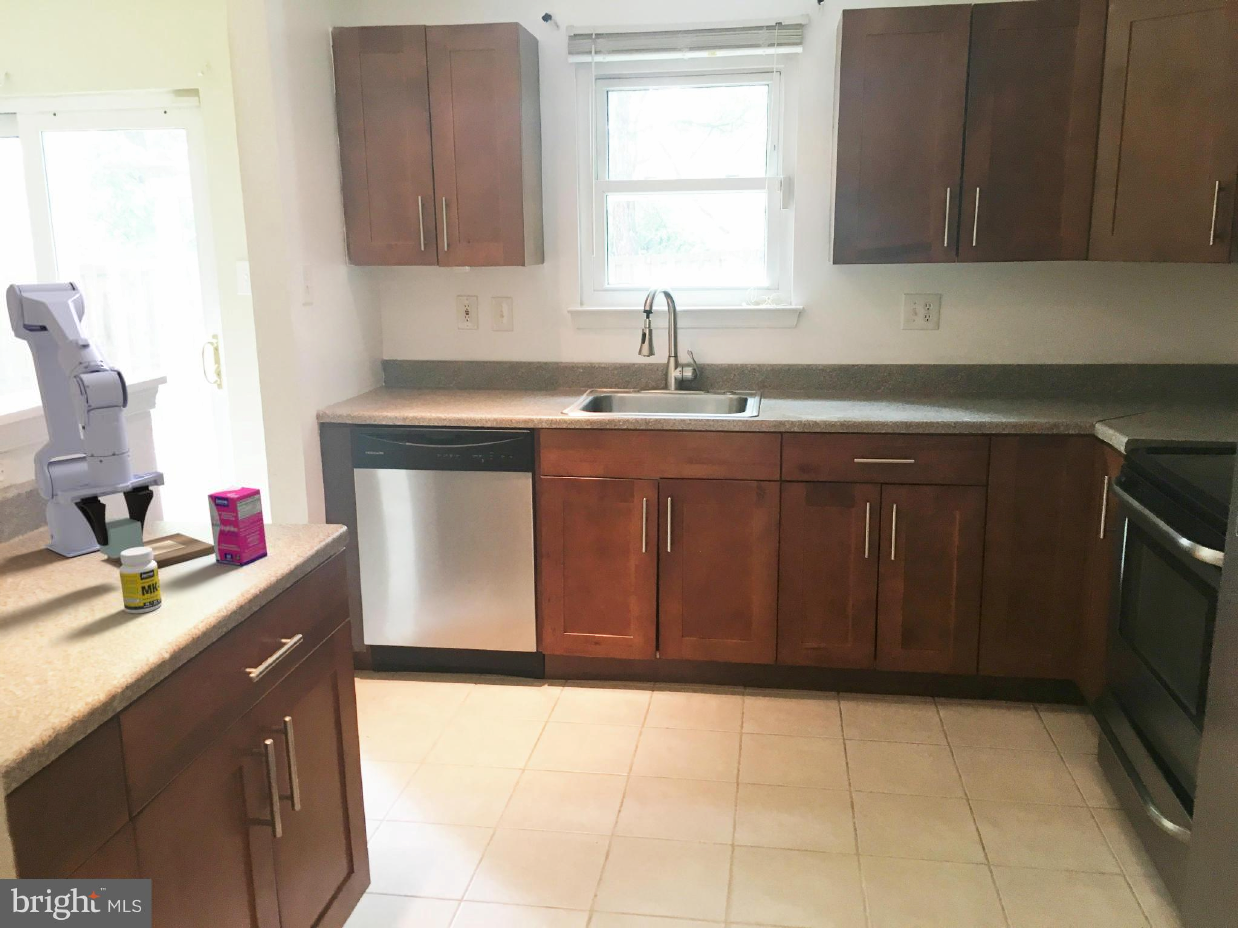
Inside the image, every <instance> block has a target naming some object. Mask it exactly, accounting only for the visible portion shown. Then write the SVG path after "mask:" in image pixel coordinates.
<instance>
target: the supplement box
mask: <svg viewBox="0 0 1238 928" xmlns="http://www.w3.org/2000/svg"><path fill="white" fill-rule="evenodd" d="M207 500H208V501H207V502H208V510H209V515H210V525H211V531H212V539H213V540H212V541H213V545H214V550H215V553H214V554H215V562H216V563H224V564H231V565H236V566H241V567H243V566H246V565H248V564H251V563H253V562H255V561H259V560H260V559H262V558H265V557H267V556H268V548H267V540H266V539H267V538H266V532H265V523H264V516H263V515H264V514H263V506H262V505H263V504H262V497H261V489H260V488H253V487H245V486H236V485H235V486H234V485H232V486H229V487H226V488H224V489H221V490H218V491H215V492H212V493H209V494H207Z"/></svg>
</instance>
